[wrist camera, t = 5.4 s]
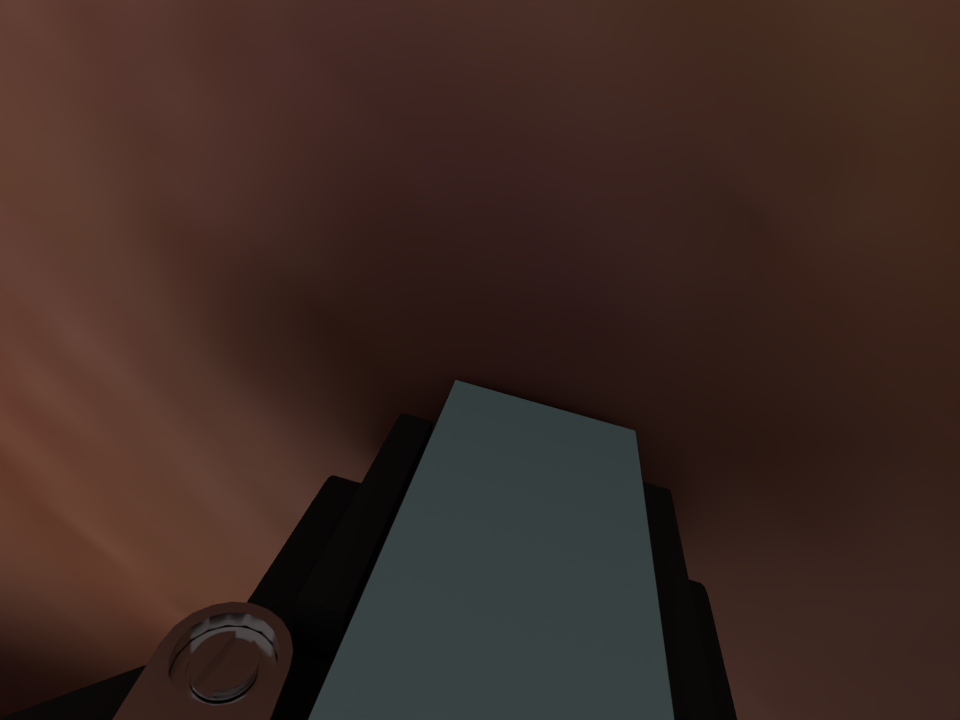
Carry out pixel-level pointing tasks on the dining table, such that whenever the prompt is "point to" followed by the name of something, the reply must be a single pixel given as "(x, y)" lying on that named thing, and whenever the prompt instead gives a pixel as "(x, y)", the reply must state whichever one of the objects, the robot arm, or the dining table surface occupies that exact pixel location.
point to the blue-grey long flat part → (510, 579)
